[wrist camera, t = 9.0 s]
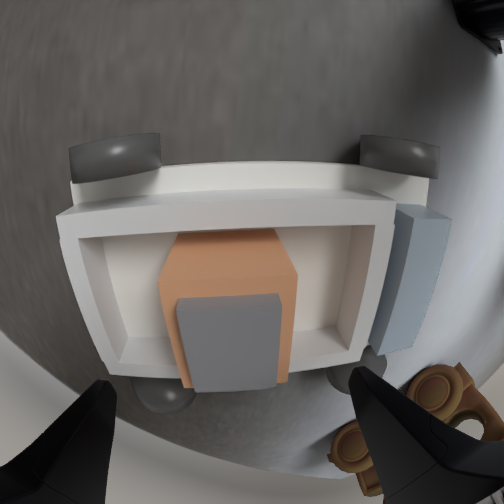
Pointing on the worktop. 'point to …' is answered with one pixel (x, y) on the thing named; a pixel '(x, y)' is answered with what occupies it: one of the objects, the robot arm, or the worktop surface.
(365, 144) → the chassis
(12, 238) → the worktop surface
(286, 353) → the tan box grey panel
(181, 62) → the worktop surface
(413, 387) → the wooden toy train
